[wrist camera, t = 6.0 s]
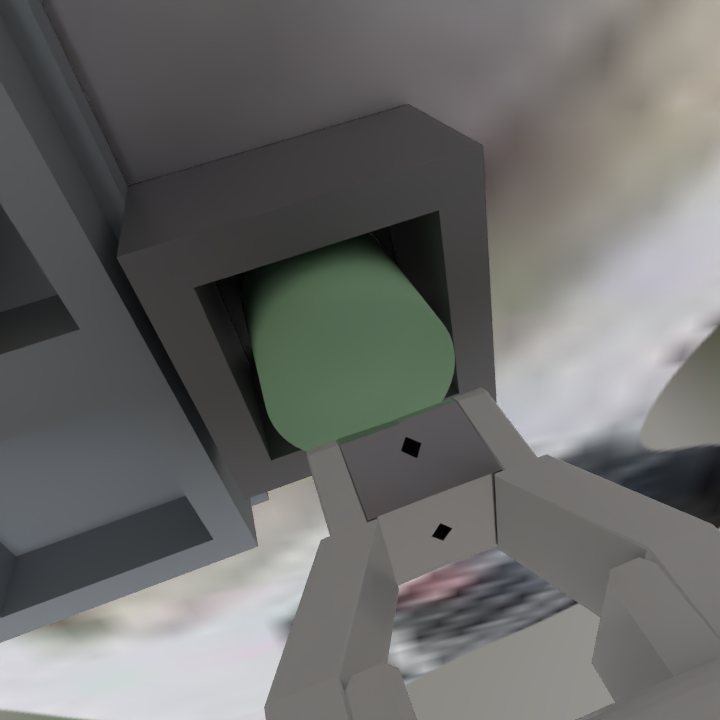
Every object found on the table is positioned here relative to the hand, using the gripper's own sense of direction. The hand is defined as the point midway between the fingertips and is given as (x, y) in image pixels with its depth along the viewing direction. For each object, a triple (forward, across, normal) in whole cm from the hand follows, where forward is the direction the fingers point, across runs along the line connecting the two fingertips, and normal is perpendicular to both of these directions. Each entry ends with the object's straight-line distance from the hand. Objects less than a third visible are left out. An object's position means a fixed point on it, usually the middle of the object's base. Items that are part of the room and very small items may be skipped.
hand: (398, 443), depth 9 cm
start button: (+6, 0, +1) cm, 6 cm away
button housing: (+8, 0, +1) cm, 8 cm away
